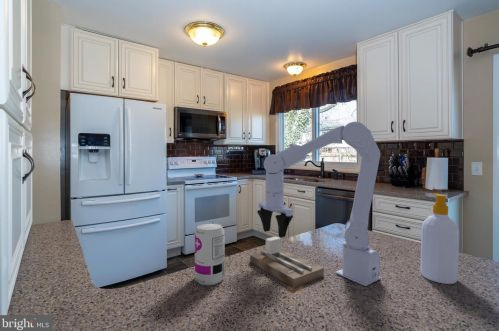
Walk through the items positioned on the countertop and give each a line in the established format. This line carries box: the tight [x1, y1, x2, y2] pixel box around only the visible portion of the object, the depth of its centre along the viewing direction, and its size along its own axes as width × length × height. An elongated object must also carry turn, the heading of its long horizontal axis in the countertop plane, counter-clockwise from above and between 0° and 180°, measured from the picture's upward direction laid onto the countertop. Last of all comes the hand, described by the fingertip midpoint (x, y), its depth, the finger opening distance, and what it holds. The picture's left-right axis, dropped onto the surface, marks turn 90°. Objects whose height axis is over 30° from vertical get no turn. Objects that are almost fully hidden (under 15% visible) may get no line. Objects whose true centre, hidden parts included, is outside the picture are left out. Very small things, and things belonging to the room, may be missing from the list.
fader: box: [265, 236, 282, 256], centre depth 84 cm, size 3×4×5 cm
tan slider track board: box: [249, 248, 325, 289], centre depth 79 cm, size 20×12×3 cm, turn 35°
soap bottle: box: [419, 192, 460, 285], centre depth 74 cm, size 9×9×24 cm
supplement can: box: [194, 222, 226, 286], centre depth 72 cm, size 8×8×15 cm
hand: (274, 233), depth 84 cm, fingers open, 7 cm apart
